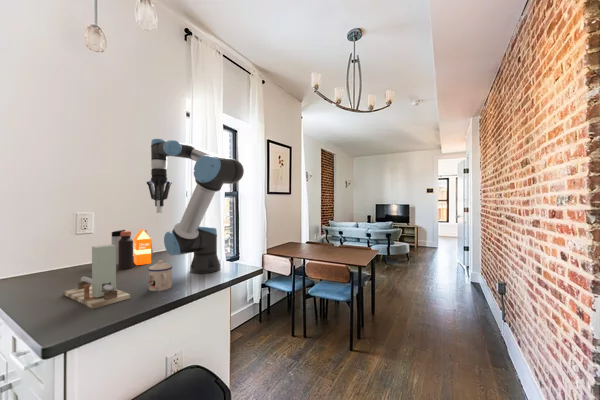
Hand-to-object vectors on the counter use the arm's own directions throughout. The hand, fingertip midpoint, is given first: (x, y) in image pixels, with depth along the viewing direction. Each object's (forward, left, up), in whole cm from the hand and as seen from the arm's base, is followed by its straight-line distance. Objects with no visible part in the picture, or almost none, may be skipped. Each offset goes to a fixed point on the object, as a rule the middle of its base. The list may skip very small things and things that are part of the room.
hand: (159, 212), depth 149 cm
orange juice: (+19, -15, -31) cm, 39 cm away
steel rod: (+1, +42, -27) cm, 50 cm away
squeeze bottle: (+25, -28, -31) cm, 48 cm away
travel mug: (+30, -10, -31) cm, 44 cm away
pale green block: (-5, +45, -28) cm, 54 cm away
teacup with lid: (-19, +32, -31) cm, 48 cm away
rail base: (+1, +42, -30) cm, 52 cm away
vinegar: (+20, -2, -31) cm, 37 cm away
